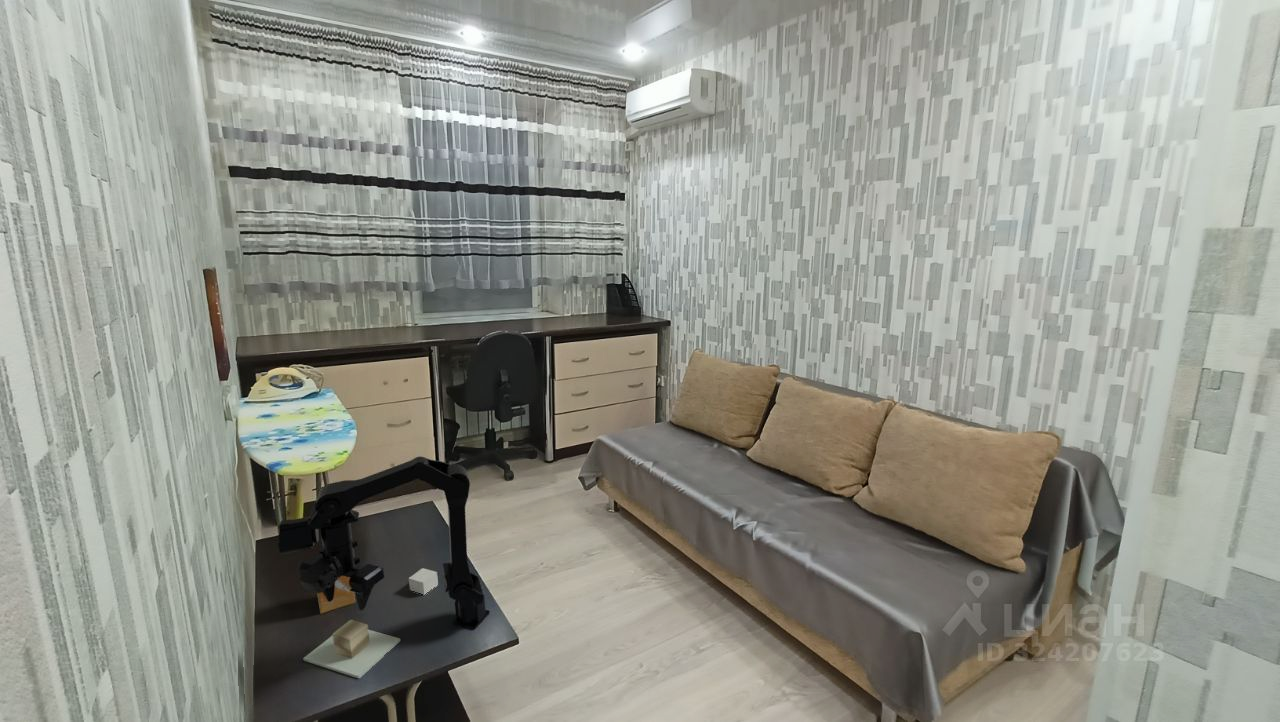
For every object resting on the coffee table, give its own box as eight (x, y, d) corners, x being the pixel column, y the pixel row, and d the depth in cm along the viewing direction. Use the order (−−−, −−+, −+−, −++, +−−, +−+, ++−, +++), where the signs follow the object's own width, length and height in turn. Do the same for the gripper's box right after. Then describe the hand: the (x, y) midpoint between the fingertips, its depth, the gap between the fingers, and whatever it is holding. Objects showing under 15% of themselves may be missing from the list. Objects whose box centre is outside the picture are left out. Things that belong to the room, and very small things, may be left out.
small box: (320, 614, 139) (313, 568, 136) (318, 601, 144) (311, 556, 141) (356, 603, 143) (350, 557, 140) (353, 590, 148) (347, 546, 145)
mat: (400, 640, 129) (400, 638, 129) (359, 678, 118) (358, 676, 118) (347, 625, 135) (347, 623, 134) (303, 660, 123) (303, 658, 123)
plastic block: (438, 585, 150) (436, 572, 149) (424, 596, 146) (423, 582, 145) (424, 581, 152) (422, 568, 151) (410, 591, 148) (408, 578, 147)
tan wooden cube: (370, 643, 128) (367, 624, 127) (352, 658, 123) (349, 639, 122) (353, 638, 129) (350, 619, 128) (335, 653, 125) (332, 633, 124)
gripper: (271, 553, 116) (282, 618, 119) (339, 570, 110) (348, 638, 113) (317, 527, 126) (326, 588, 130) (382, 542, 120) (389, 605, 124)
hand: (346, 605), depth 124 cm, fingers open, 9 cm apart
